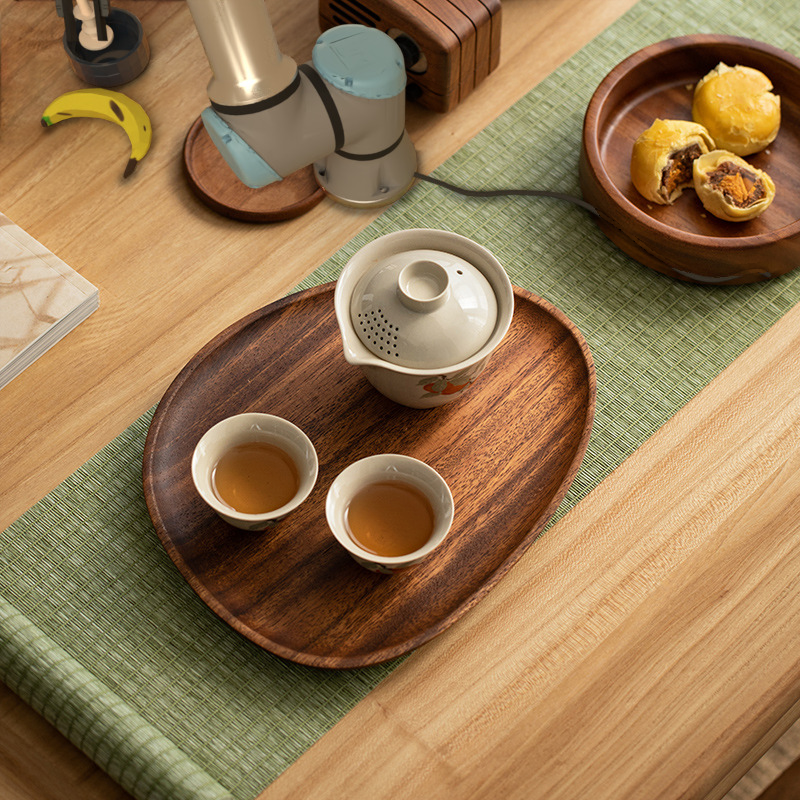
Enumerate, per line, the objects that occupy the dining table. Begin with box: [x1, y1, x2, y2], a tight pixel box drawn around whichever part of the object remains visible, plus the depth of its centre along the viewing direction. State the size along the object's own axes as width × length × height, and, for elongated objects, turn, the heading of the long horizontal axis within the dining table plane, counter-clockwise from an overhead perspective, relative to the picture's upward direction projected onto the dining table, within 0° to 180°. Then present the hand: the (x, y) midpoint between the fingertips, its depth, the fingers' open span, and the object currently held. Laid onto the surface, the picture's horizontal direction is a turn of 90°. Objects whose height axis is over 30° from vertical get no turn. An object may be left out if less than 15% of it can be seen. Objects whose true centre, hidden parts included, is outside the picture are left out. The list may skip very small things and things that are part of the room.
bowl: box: [61, 6, 151, 88], centre depth 143 cm, size 12×12×5 cm
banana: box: [40, 87, 153, 179], centre depth 138 cm, size 5×17×15 cm
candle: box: [73, 0, 114, 50], centre depth 137 cm, size 5×5×10 cm
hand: (87, 40), depth 138 cm, fingers closed on candle, 4 cm apart
